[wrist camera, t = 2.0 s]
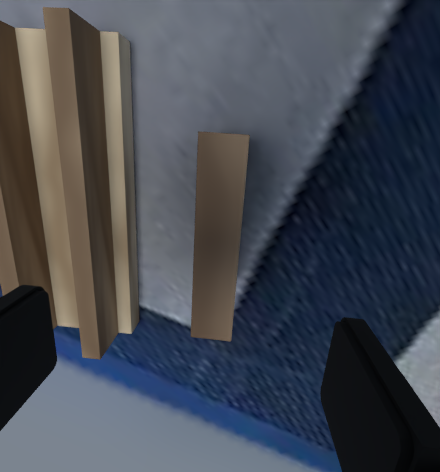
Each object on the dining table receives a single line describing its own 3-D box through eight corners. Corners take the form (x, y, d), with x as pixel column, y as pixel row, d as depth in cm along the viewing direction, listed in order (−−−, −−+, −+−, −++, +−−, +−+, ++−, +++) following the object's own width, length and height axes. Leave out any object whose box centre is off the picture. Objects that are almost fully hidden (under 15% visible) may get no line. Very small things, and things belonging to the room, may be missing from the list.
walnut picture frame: (249, 137, 22) (249, 134, 14) (236, 275, 26) (231, 341, 18) (216, 135, 22) (198, 131, 14) (209, 273, 26) (190, 336, 18)
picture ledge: (129, 42, 21) (90, 8, 16) (139, 321, 28) (114, 361, 23) (0, 36, 21) (-79, 2, 16) (44, 310, 29) (-1, 347, 24)
